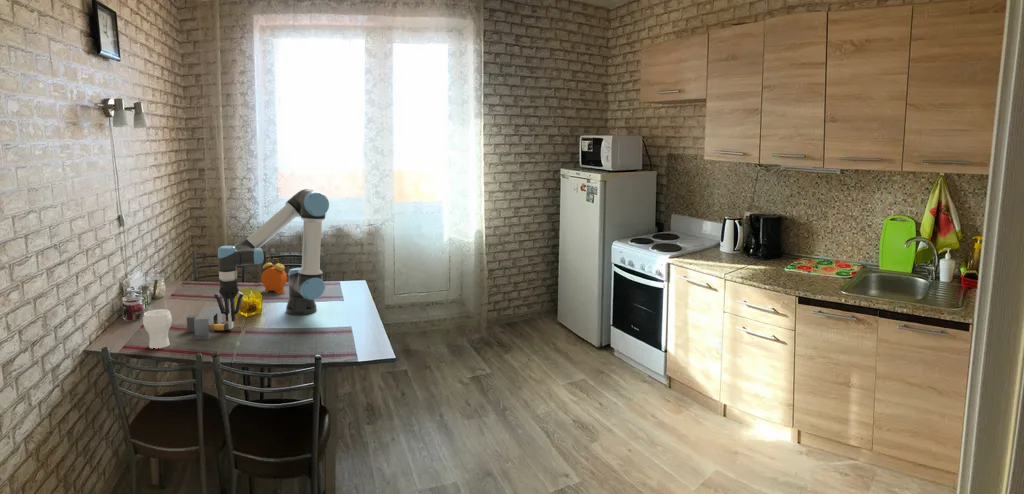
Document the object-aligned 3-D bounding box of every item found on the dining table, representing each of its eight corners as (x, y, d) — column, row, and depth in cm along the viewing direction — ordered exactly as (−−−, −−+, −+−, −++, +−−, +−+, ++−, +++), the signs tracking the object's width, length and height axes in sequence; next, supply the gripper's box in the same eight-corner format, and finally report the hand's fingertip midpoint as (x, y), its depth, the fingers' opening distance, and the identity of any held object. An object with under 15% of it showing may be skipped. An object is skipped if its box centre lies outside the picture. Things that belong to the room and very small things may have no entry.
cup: (160, 351, 258) (158, 317, 256) (139, 348, 260) (136, 315, 258) (179, 343, 269) (176, 310, 266) (158, 340, 271) (155, 308, 268)
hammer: (231, 328, 289) (230, 314, 288) (228, 331, 285) (227, 317, 284) (190, 329, 287) (189, 314, 285) (187, 331, 283) (186, 317, 281)
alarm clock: (288, 291, 356) (286, 258, 352) (281, 294, 350) (280, 260, 346) (268, 289, 358) (266, 256, 355) (261, 291, 353) (260, 258, 349)
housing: (225, 322, 298) (224, 305, 297) (208, 339, 275) (207, 320, 273) (210, 322, 297) (209, 305, 296) (192, 339, 274) (190, 321, 272)
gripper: (245, 277, 287) (247, 325, 292) (216, 277, 285) (219, 325, 290) (240, 281, 280) (243, 330, 284) (210, 281, 278) (213, 330, 283)
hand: (231, 327), depth 287 cm, fingers closed
